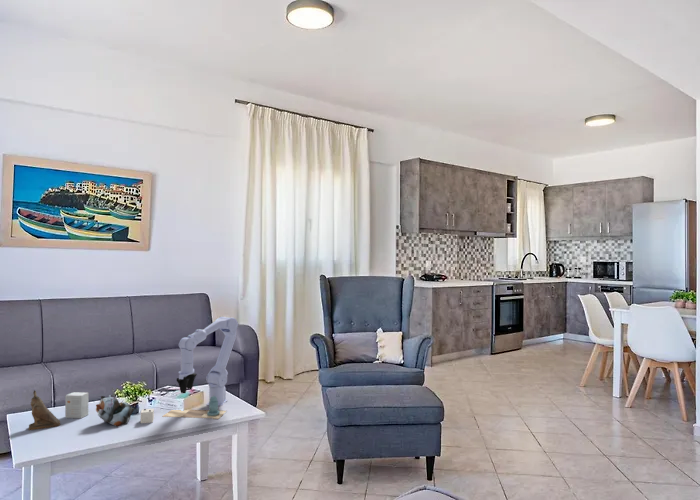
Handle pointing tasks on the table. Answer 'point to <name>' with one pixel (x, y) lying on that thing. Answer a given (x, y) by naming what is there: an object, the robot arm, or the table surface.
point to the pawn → (213, 407)
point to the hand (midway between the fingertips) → (186, 391)
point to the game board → (192, 414)
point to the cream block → (147, 415)
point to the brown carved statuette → (41, 415)
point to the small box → (76, 405)
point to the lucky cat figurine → (114, 411)
